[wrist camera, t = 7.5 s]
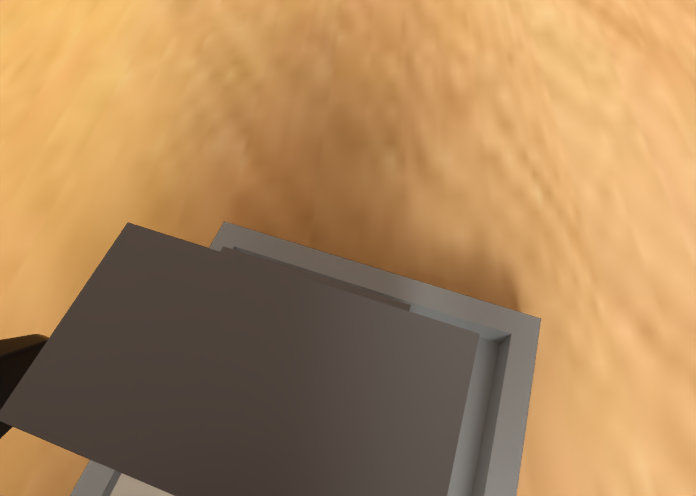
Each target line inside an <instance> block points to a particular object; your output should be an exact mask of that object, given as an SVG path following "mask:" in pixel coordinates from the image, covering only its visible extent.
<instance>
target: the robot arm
mask: <svg viewBox="0 0 696 496" xmlns="http://www.w3.org/2000/svg"><path fill="white" fill-rule="evenodd" d="M48 339H49V337H46V336H44V335H40V334H32V335H27V336H21V337H15V338H9V339H3V340H0V410H1V408H2V407H3V405H4V404H5V403H6V401H7V400H8V398H9V397H10V395H11V394H12V392H13V391H14V389H15V388H16V386H17V385H18V383H19V382H20V380H21V379H22V377H23V376H24V375H25V373H26V372H27V370H28V369H29V367H30V366H31V364H32V363H33V361H34V360H35V358H36V357H37V355H38V354H39V352H40V351H41V349H42V348H43V347H44V345H45V344H46V342H47V341H48ZM12 427H13V426H10V425H8V424H6V423H3V422H1V421H0V438H1V437H2V436H4V435H5V434H6V433H7V432H8V431H9V430H10V429H11V428H12Z"/></svg>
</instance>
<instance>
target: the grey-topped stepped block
mask: <svg viewBox="0 0 696 496" xmlns="http://www.w3.org/2000/svg"><path fill="white" fill-rule="evenodd" d="M410 307H411V305H409V304H406V303H403V302H400V301H397V300H393V299H390V298H387V297H384V296H381V295H377V294H374V293H371V292H368V291H365V290H362V289H358V288H355V287H352V286H349V285H346V284H342V283H339V282H336V281H333V280H330V279H326V278H323V277H320V276H317V275H314V274H310V273H307V272H304V271H301V270H298V269H294V268H291V267H288V266H285V265H282V264H279V263H275V262H272V261H269V260H266V259H263V258H259V257H256V256H253V255H250V254H247V253H243V252H240V251H237V250H234V249H231V248H227V247H224V246H223V247H222V249H221V251H217V250H213V249H210V248H207V247H204V246H201V245H198V244H194V243H191V242H188V241H185V240H182V239H179V238H175V237H172V236H169V235H166V234H163V233H160V232H156V231H153V230H150V229H147V228H144V227H141V226H137V225H134V224H131V223H127V224H126V226H125V227H124V229H123V230H122V232H121V233H120V235H119V236H118V238H117V239H116V240H115V242H114V243H113V245H112V246H111V248H110V249H109V251H108V252H107V254H106V255H105V257H104V258H103V260H102V261H101V263H100V264H99V266H98V267H97V268H96V270H95V271H94V273H93V274H92V276H91V277H90V279H89V280H88V282H87V283H86V285H85V286H84V288H83V289H82V291H81V292H80V293H79V295H78V296H77V298H76V299H75V301H74V302H73V304H72V305H71V307H70V308H69V310H68V311H67V313H66V314H65V316H64V317H63V319H62V320H61V321H60V323H59V324H58V326H57V327H56V329H55V330H54V332H53V333H52V335H51V336H50V338H49V339H48V341H47V342H46V344H45V345H44V347H43V348H42V349H41V351H40V352H39V354H38V355H37V357H36V358H35V360H34V361H33V363H32V364H31V366H30V367H29V369H28V370H27V372H26V373H25V375H24V376H23V377H22V379H21V380H20V382H19V383H18V385H17V386H16V388H15V389H14V391H13V392H12V394H11V395H10V397H9V398H8V400H7V401H6V403H5V404H4V405H3V407H2V408H1V410H0V421H1V422H3V423H6V424H8V425H10V426H13V427H15V428H17V429H20V430H22V431H24V432H27V433H29V434H32V435H34V436H36V437H39V438H41V439H43V440H46V441H48V442H50V443H53V444H55V445H57V446H60V447H62V448H64V449H67V450H69V451H71V452H74V453H76V454H78V455H81V456H83V457H85V458H88V459H90V460H92V461H95V462H97V463H99V464H102V465H104V466H106V467H109V468H111V469H113V470H116V471H118V472H120V473H121V475H120V477H119V479H118V481H117V483H116V485H115V487H114V489H113V491H112V493H111V495H110V496H447V494H448V489H449V484H450V479H451V474H452V469H453V464H454V459H455V454H456V449H457V444H458V439H459V434H460V429H461V424H462V419H463V414H464V409H465V404H466V399H467V394H468V389H469V384H470V379H471V374H472V369H473V364H474V360H475V355H476V350H477V345H478V340H479V335H480V334H479V333H476V332H473V331H470V330H467V329H463V328H460V327H457V326H454V325H451V324H448V323H444V322H441V321H438V320H435V319H432V318H429V317H425V316H422V315H419V314H416V313H413V312H410V311H409V310H410Z"/></svg>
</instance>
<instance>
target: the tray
mask: <svg viewBox="0 0 696 496" xmlns="http://www.w3.org/2000/svg"><path fill="white" fill-rule="evenodd" d="M223 246H224V247H227V248H231V249H234V250H237V251H240V252H243V253H247V254H250V255H253V256H256V257H259V258H263V259H266V260H269V261H272V262H275V263H279V264H282V265H285V266H288V267H291V268H294V269H298V270H301V271H304V272H307V273H310V274H314V275H317V276H320V277H323V278H326V279H330V280H333V281H336V282H339V283H342V284H346V285H349V286H352V287H355V288H358V289H362V290H365V291H368V292H371V293H374V294H377V295H381V296H384V297H387V298H390V299H393V300H397V301H400V302H403V303H406V304H409V305H411V307H410V310H409V311H410V312H413V313H416V314H419V315H422V316H425V317H429V318H432V319H435V320H438V321H441V322H444V323H448V324H451V325H454V326H457V327H460V328H463V329H467V330H470V331H473V332H476V333H479V334H480V335H479V340H478V345H477V350H476V355H475V360H474V364H473V369H472V374H471V379H470V384H469V389H468V394H467V399H466V404H465V409H464V414H463V419H462V424H461V429H460V434H459V439H458V444H457V449H456V454H455V459H454V464H453V469H452V474H451V479H450V484H449V489H448V494H447V496H516V495H517V487H518V480H519V473H520V466H521V459H522V451H523V444H524V437H525V430H526V423H527V416H528V408H529V401H530V394H531V387H532V380H533V372H534V365H535V358H536V351H537V344H538V337H539V329H540V322H541V318H537V317H534V316H531V315H528V314H524V313H521V312H518V311H515V310H511V309H508V308H505V307H502V306H498V305H495V304H492V303H489V302H485V301H482V300H479V299H476V298H472V297H469V296H466V295H463V294H459V293H456V292H453V291H450V290H446V289H443V288H440V287H436V286H433V285H430V284H427V283H423V282H420V281H417V280H414V279H410V278H407V277H404V276H401V275H397V274H394V273H391V272H388V271H384V270H381V269H378V268H375V267H371V266H368V265H365V264H362V263H358V262H355V261H352V260H349V259H345V258H342V257H339V256H336V255H332V254H329V253H326V252H322V251H319V250H316V249H313V248H309V247H306V246H303V245H300V244H296V243H293V242H290V241H287V240H283V239H280V238H277V237H274V236H270V235H267V234H264V233H261V232H257V231H254V230H251V229H248V228H244V227H241V226H238V225H235V224H231V223H228V222H225V221H224V222H223V224H222V226H221V228H220V230H219V231H218V233H217V235H216V237H215V238H214V240H213V242H212V244H211V246H210V247H209V248H210V249H213V250H217V251H221V249H222V247H223ZM120 475H121V473H120V472H118V471H116V470H113V469H111V468H109V467H106V466H104V465H102V464H99V463H97V462H95V461H92V460H90V461H89V463H88V464H87V466H86V468H85V470H84V472H83V473H82V475H81V477H80V479H79V480H78V482H77V484H76V486H75V488H74V489H73V491H72V493H71V495H70V496H110V495H111V493H112V491H113V489H114V487H115V485H116V483H117V481H118V479H119V477H120Z"/></svg>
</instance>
